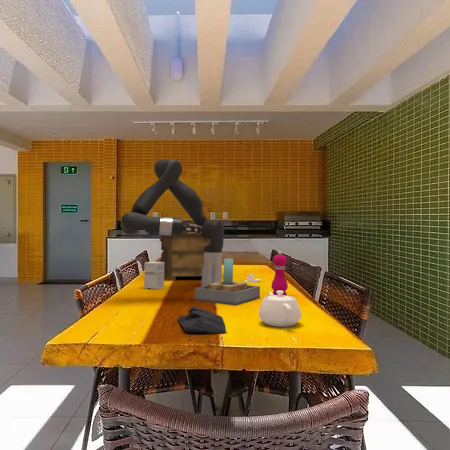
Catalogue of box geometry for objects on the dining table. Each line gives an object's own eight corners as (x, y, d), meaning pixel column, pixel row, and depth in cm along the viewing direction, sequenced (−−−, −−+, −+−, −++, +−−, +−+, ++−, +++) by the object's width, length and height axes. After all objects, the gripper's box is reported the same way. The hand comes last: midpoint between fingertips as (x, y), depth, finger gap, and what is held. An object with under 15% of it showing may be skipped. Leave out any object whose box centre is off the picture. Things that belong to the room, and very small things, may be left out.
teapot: (311, 330, 135) (311, 295, 135) (267, 332, 133) (268, 296, 133) (288, 315, 157) (288, 285, 157) (250, 316, 154) (251, 285, 154)
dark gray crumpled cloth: (176, 336, 129) (177, 320, 129) (178, 319, 151) (178, 305, 151) (229, 336, 130) (229, 319, 130) (222, 319, 152) (222, 305, 152)
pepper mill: (289, 295, 197) (290, 250, 197) (284, 298, 191) (285, 251, 190) (274, 294, 200) (274, 250, 200) (269, 296, 194) (269, 251, 193)
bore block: (208, 297, 186) (208, 284, 186) (223, 293, 196) (223, 280, 196) (232, 300, 179) (232, 286, 179) (247, 296, 189) (247, 283, 189)
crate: (222, 281, 242) (223, 221, 241) (158, 281, 238) (158, 220, 238) (217, 273, 277) (217, 221, 276) (160, 273, 273) (161, 220, 272)
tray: (194, 299, 185) (194, 287, 184) (221, 293, 201) (221, 282, 201) (235, 305, 174) (235, 292, 174) (259, 298, 191) (259, 286, 190)
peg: (221, 291, 187) (222, 258, 186) (226, 290, 190) (227, 258, 190) (229, 293, 185) (230, 259, 184) (234, 291, 188) (235, 258, 188)
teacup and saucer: (262, 282, 241) (262, 274, 241) (253, 283, 236) (253, 276, 235) (250, 280, 247) (250, 273, 247) (240, 282, 242) (241, 274, 242)
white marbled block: (143, 288, 213) (143, 262, 213) (151, 286, 220) (151, 261, 220) (156, 289, 210) (157, 263, 210) (164, 287, 217) (164, 261, 217)
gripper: (172, 218, 176) (212, 221, 179) (170, 216, 190) (207, 219, 193) (171, 237, 176) (210, 240, 180) (168, 234, 190) (205, 236, 194)
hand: (208, 229), depth 186 cm, fingers open, 8 cm apart
